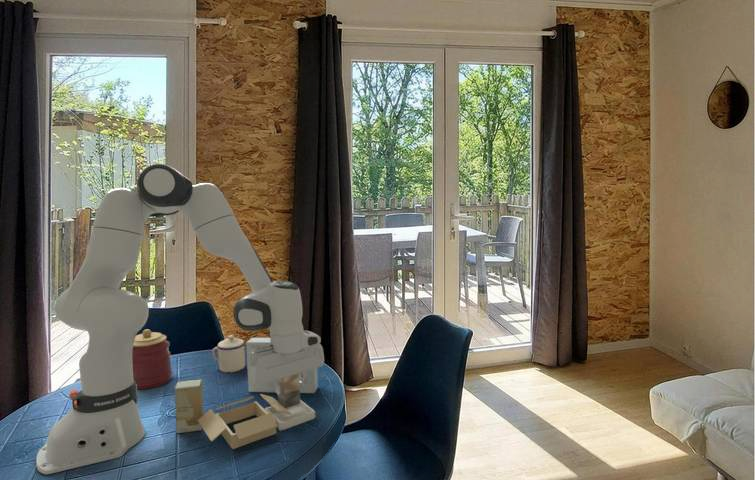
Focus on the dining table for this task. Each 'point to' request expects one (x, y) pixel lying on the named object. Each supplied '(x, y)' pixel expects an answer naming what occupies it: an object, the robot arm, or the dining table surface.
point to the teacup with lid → (230, 354)
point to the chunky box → (290, 391)
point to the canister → (151, 360)
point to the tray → (292, 415)
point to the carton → (244, 430)
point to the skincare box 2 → (309, 382)
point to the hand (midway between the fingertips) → (290, 390)
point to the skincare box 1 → (188, 405)
